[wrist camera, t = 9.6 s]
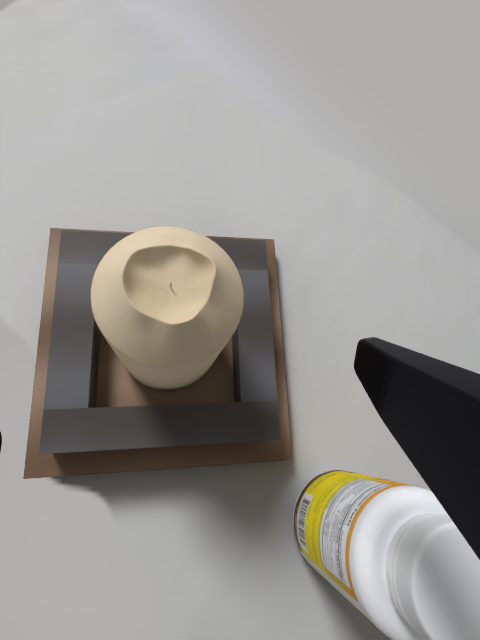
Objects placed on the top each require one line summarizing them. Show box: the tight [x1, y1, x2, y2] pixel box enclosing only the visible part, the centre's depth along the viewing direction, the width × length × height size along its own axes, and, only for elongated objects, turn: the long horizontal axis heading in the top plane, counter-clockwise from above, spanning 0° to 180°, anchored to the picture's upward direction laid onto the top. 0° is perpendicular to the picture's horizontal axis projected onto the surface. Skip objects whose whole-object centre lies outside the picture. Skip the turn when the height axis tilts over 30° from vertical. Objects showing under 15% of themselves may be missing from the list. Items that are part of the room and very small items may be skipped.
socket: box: [24, 228, 292, 479], centre depth 21 cm, size 14×14×3 cm
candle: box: [91, 226, 244, 391], centre depth 17 cm, size 6×6×10 cm
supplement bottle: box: [293, 470, 480, 640], centre depth 17 cm, size 6×6×10 cm
